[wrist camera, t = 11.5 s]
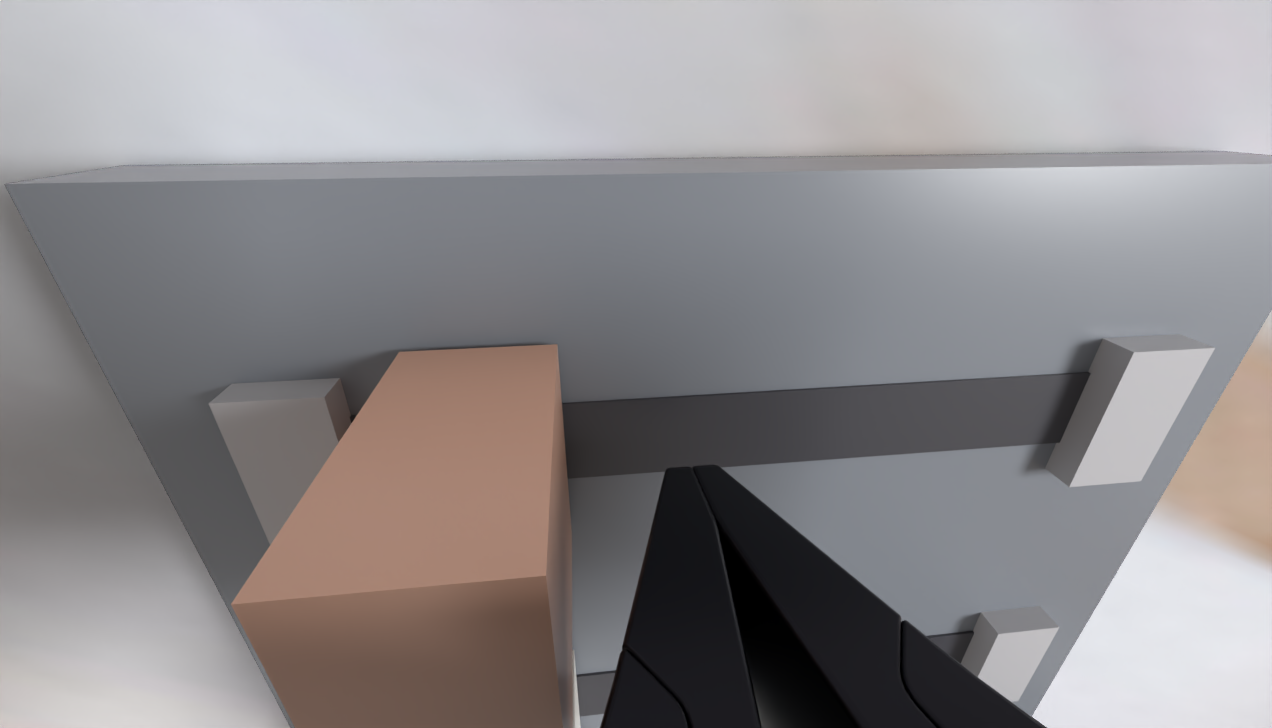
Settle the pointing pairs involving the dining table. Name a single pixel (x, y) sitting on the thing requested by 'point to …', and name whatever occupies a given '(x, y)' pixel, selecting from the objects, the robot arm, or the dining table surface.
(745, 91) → the dining table surface
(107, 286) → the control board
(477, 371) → the salmon pink cuboid
